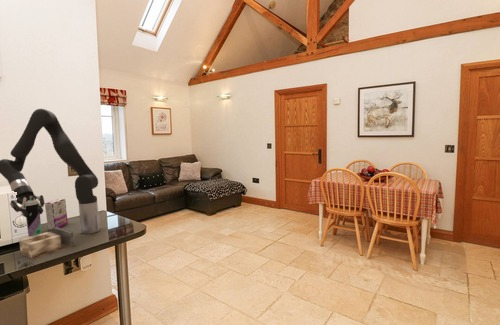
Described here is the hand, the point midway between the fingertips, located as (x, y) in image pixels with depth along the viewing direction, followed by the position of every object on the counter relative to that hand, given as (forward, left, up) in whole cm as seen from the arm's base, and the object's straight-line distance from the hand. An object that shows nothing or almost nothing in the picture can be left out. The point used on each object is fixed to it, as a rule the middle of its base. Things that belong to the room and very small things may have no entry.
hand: (34, 214), depth 138 cm
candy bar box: (0, -30, -16) cm, 34 cm away
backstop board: (-7, +10, -16) cm, 20 cm away
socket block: (-5, +11, -15) cm, 19 cm away
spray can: (+1, -1, -11) cm, 12 cm away
